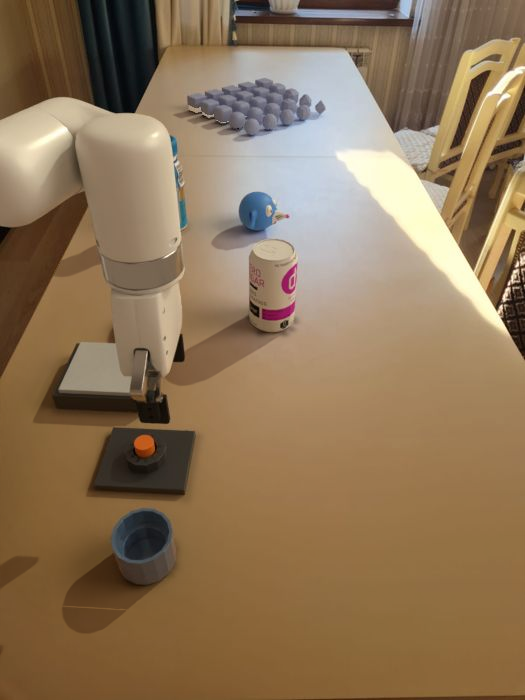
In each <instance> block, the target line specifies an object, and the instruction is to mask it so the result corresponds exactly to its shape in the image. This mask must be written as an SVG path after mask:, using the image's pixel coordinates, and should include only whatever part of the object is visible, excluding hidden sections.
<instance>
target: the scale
mask: <svg viewBox="0 0 525 700" xmlns="http://www.w3.org/2000/svg"><path fill="white" fill-rule="evenodd" d="M149 370H156V369H155V368H154V366H153V365H152V363H149ZM131 377H132V376H124V375H123V374H122V373H121V370H120V366H119V360H118V355H117V349H116V343H115V342H93V341H92V342H91V341H80V342H77V343H75V345H74V348H73V350H72V352H71V354H70V356H69V358H68V361H67V362H66V364H65V367H64V368H63V371H62V373H61V375H60V378H59V379H58V381H57V383H56V385H55V387H54V390H53V392H52V394H51V398H52V400H53V404H54V405H55V406H54V407H55V408H56V409H57V410H74V411H75V410H77V411H94V412H120V413H138V411H137V406H136V403H134V402H133V399H132V397H131V396H130V384H131ZM147 388H148V390H155V388H156V377H148V378H147Z"/></svg>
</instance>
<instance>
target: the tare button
mask: <svg viewBox="0 0 525 700" xmlns="http://www.w3.org/2000/svg"><path fill="white" fill-rule="evenodd" d="M134 447H135V451H136V454H137V455H138V456H139V457H141V458H147V457H150V456H151V455H152V454H153V453H154V451H155V446H154V441H153V438H152V437H151V436H149V435H141V436H139V437H137V438H136V439H135V441H134Z"/></svg>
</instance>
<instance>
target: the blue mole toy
mask: <svg viewBox="0 0 525 700" xmlns="http://www.w3.org/2000/svg"><path fill="white" fill-rule="evenodd" d="M277 205H278V204H277V202H276V200H275V199H273V198H272V197H271V195H269V194H268V193H265V192H264V191H263V192H262V191H252V192H249V193H247V194H245V196H243V198H242V199H241V201H240V203H239V206H238V217H239V220H240V222H241V223H242V225H243V226H244V227H245V228H247V229H248V230H251V231H257V232H258V231H259V232H260V231H263V230H266V229H268V228H269V227H271V226H273V225H275V224H277V221H278V222H280V221H282V220H284V219H290V217H291V215H290V214H289V213H285V212H282V211H280V210H278V208H277Z"/></svg>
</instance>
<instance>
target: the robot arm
mask: <svg viewBox="0 0 525 700" xmlns="http://www.w3.org/2000/svg"><path fill="white" fill-rule="evenodd" d="M169 135H170V133H169V131H168V129H167V128H166V126H165V125H164V124H163V123H162V122H161V121H159V120H158V119H157V118H154V117H153V116H150V115H147V114H141V113H134V112H133V113H132V112H121V113H120V112H119V113H115V112H112V111H109V110H106V109H104V108H101V107H100V106H97V105H96V106H95V105H94V104H91V103H88V102H86V101H83V100H81V99H78V98H73V97H68V96H59V97H58V96H57V97H52V98H49V99H45V100H43V101H40V102H39V103H37V104H34V105H32V106H30V107H27V108H25V109H23V110H19V111H18V112H16V113H13V114H11V115H9V116H7V117H6V116H5V118H2V119H0V227H4V228H19V227H24V226H28V225H30V224H32V223H33V222H36V221H37V220H39V219H40V218H42V217H43V216H45V215H47V214H48V213H50V212H51V211H52V210H54V209H56V208H57V207H58V206H59V205H61V204H62V203H65V201H66V200H68V199H70V198H71V197H73V196H75V195H77V194H80V193H84V195H85V198H86V202H87V208H88V211H89V216H90V220H91V225H92V229H93V235H94V239H95V243H96V247H97V251H98V255H99V260H100V264H101V269H102V274H103V278H104V282H105V283H106V285H107V286H108V287H109V288H110V309H111V321H112V328H113V336H114V343H116V349H117V355H118V360H119V366H120V370H121V373H122V374H123V375H124V376H132V377H131V384H130V396H131V397H132V399H133V402H134V403H136V406H137V411H138V412H137V416H138V420H139V422H140V423H141V424H153V425H154V424H155V425H156V424H157V425H158V424H159V425H167V424H170V422H171V413H170V407H169V402H168V394H165V393H164V382H165V381H164V378H165V377H166V376H168V375H169V373H170V371H171V368H172V365H173V363H184V362H185V359H186V353H185V352H186V351H185V345H184V344H185V343H184V336H183V333H181V332H182V326H183V305H182V304H183V303H182V295H181V289H180V281H181V280H182V279H183V278H184V275H185V272H186V269H185V257H184V248H183V239H182V238H183V237H182V232H181V231H182V230H180V220H179V210H178V200H177V191H176V181H175V172H174V163H173V153H172V146H171V139H170V136H169ZM149 363H152V365H153V366H154V368H155V369H156V370H149ZM148 377H156V384H155V389H154V390H148V388H147V378H148Z"/></svg>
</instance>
